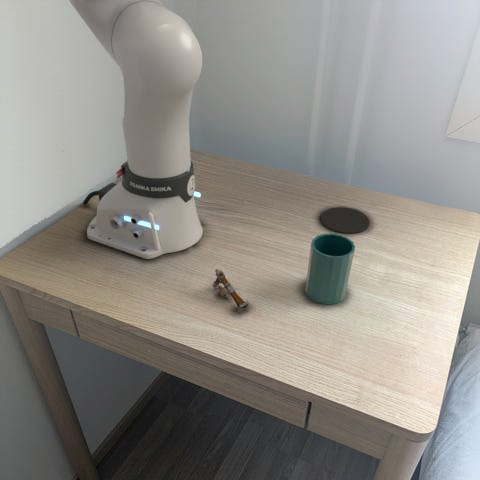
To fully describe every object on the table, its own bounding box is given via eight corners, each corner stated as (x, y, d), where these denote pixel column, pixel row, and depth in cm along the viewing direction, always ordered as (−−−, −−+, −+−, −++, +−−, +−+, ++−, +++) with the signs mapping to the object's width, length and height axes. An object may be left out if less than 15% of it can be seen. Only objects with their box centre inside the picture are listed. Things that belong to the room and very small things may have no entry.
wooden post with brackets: (215, 279, 85) (221, 264, 81) (242, 315, 83) (250, 302, 79) (206, 283, 84) (212, 268, 80) (233, 319, 82) (241, 306, 78)
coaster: (316, 228, 99) (316, 227, 99) (324, 205, 106) (325, 204, 106) (366, 237, 97) (366, 236, 97) (371, 212, 104) (371, 211, 104)
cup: (301, 299, 83) (308, 252, 76) (309, 276, 87) (315, 230, 81) (342, 308, 81) (352, 260, 75) (347, 283, 86) (357, 237, 80)
